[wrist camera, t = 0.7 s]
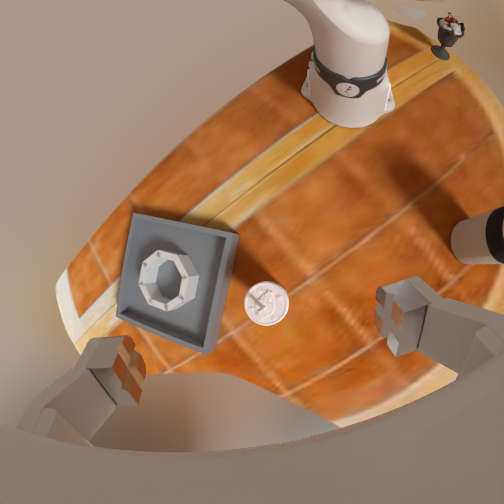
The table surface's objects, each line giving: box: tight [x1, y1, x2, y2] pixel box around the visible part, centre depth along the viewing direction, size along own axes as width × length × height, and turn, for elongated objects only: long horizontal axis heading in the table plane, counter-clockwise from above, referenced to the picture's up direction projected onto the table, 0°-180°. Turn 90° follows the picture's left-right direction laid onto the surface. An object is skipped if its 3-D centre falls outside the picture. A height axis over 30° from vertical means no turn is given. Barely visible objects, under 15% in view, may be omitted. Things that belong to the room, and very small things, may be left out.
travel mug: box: [451, 206, 504, 264], centre depth 31 cm, size 8×8×18 cm
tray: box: [116, 213, 240, 355], centre depth 51 cm, size 22×22×5 cm
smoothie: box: [244, 281, 289, 326], centre depth 42 cm, size 6×6×14 cm
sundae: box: [431, 13, 465, 60], centre depth 33 cm, size 7×7×15 cm
